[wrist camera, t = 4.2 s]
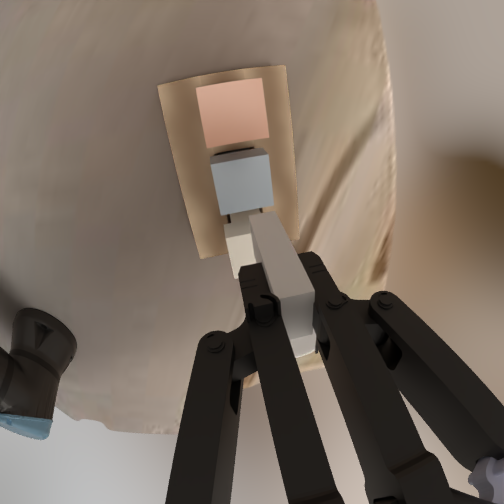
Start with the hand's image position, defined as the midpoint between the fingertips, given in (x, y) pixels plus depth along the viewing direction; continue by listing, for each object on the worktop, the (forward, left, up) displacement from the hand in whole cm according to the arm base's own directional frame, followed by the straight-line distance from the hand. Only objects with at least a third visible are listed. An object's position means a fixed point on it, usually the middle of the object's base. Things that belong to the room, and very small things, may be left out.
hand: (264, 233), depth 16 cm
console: (0, 0, -18) cm, 18 cm away
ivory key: (0, -7, -14) cm, 16 cm away
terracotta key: (0, +6, -14) cm, 16 cm away
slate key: (0, 0, -16) cm, 16 cm away
